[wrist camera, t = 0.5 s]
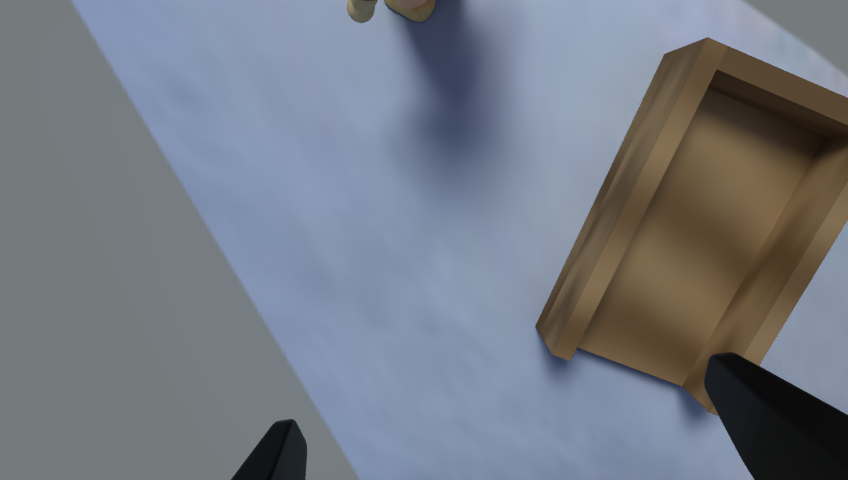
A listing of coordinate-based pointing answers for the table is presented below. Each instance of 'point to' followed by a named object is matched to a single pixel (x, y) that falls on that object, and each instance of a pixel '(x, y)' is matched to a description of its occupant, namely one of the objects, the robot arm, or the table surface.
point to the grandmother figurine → (411, 3)
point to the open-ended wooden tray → (705, 219)
